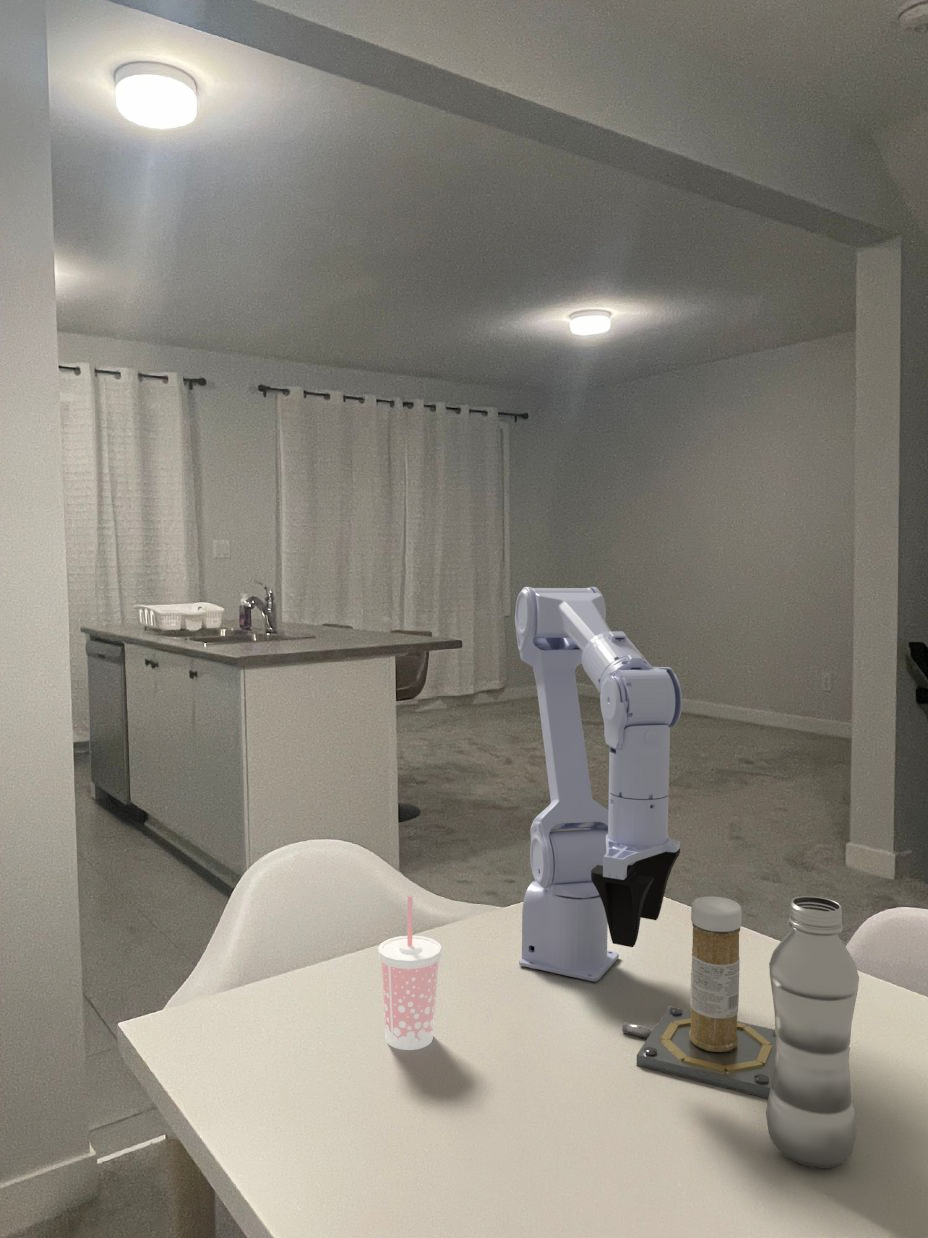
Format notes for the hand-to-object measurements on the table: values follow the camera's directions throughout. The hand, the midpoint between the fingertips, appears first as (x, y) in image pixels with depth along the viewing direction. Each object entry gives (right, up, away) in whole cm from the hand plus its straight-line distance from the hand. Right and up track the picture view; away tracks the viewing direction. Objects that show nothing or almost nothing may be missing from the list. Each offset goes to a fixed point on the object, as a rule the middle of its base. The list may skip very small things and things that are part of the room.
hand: (635, 930), depth 94 cm
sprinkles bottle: (+7, -10, -3) cm, 12 cm away
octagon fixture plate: (+6, -11, -2) cm, 12 cm away
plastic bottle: (+10, -12, -18) cm, 24 cm away
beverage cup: (-22, -11, 0) cm, 24 cm away
